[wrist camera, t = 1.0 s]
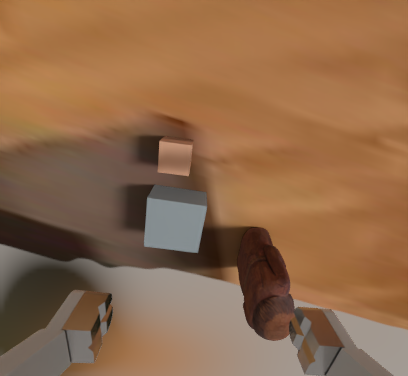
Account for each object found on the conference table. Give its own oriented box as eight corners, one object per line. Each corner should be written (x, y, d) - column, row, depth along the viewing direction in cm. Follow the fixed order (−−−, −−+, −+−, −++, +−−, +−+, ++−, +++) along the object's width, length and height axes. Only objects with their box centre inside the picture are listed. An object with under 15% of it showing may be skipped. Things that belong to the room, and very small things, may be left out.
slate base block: (154, 184, 39) (147, 197, 34) (206, 191, 40) (207, 206, 35) (151, 227, 43) (143, 246, 38) (198, 233, 44) (197, 253, 38)
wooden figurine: (259, 269, 48) (290, 358, 31) (232, 266, 47) (249, 355, 31) (272, 226, 43) (317, 304, 27) (243, 223, 43) (270, 300, 26)
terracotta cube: (164, 135, 36) (159, 141, 31) (193, 139, 36) (192, 145, 31) (163, 163, 38) (157, 172, 33) (190, 167, 38) (188, 176, 33)
